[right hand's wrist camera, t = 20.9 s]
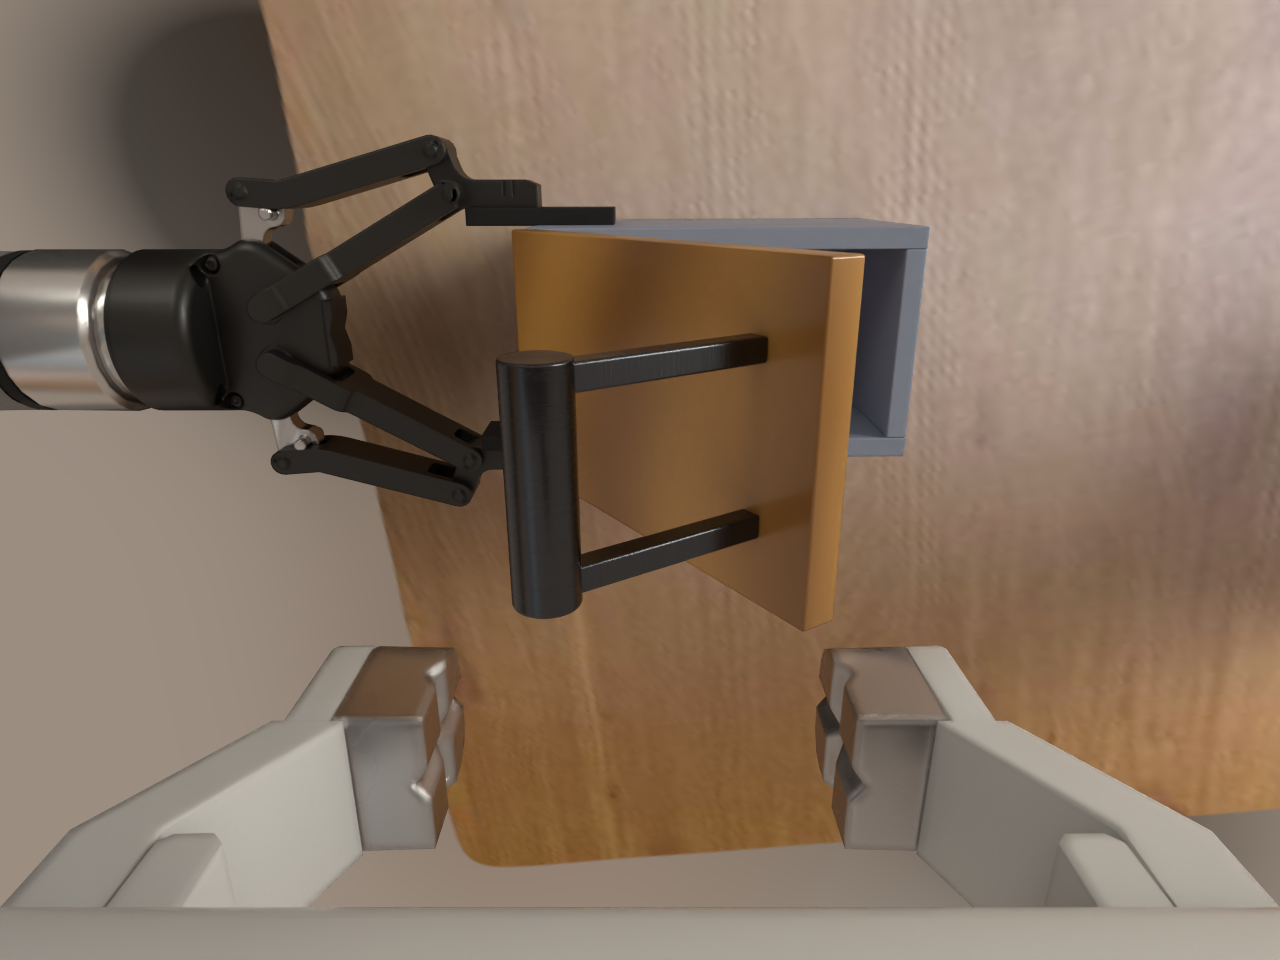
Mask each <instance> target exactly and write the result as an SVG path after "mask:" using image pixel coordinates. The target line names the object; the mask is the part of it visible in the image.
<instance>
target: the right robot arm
mask: <svg viewBox="0 0 1280 960" xmlns="http://www.w3.org/2000/svg"><path fill="white" fill-rule="evenodd" d="M460 678H461V676H460V667H459V659H458V654H457V652H456V650H455V648H441V647H391V646H390V647H389V646H379V647H376V646H341V647H337V648H334V649H333V650H332V651H331V653H330V654H329V656H328V657H327V659H326V660H325V662H324V663H323V665H322V666H321V668H320V669H319V670H318V672H317V673H316V675H315V676H314V678H313V679H312V681H311V682H310V684H309V685H308V687H307V688H306V690H305V691H304V692H303V694H302V695H301V697H300V698H299V700H298V701H297V703H296V704H295V706H294V707H293V709H292V710H291V712H290V713H289V715H288V716H287V718H286V719H285V720H284V721H271V722H269V723H267V724H266V725H264V726H262V727H260V728H258V729H256V730H254V731H252V732H251V733H249V734H247V735H245V736H243V737H241V738H239V739H238V740H236V741H234V742H232V743H230V744H228V745H227V746H225V747H223V748H221V749H219V750H217V751H215V752H214V753H212V754H210V755H208V756H206V757H204V758H202V759H201V760H199V761H197V762H195V763H193V764H191V765H189V766H188V767H186V768H184V769H182V770H180V771H178V772H176V773H175V774H173V775H171V776H169V777H167V778H165V779H163V780H162V781H160V782H158V783H156V784H154V785H152V786H151V787H149V788H147V789H145V790H143V791H141V792H139V793H138V794H136V795H134V796H132V797H130V798H128V799H126V800H125V801H123V802H121V803H119V804H117V805H115V806H113V807H112V808H110V809H108V810H106V811H104V812H102V813H100V814H99V815H97V816H95V817H93V818H91V819H89V820H87V821H86V822H84V823H82V824H80V825H78V826H76V827H75V828H73V829H71V830H69V832H68V833H67V834H66V835H65V836H64V837H63V838H62V839H61V840H60V842H59V843H58V844H57V845H56V846H55V847H54V848H53V849H52V851H51V852H50V853H49V854H48V855H47V856H46V857H45V858H44V859H43V860H42V862H41V863H40V864H39V865H38V866H37V867H36V868H35V869H34V871H33V872H32V873H31V874H30V875H29V876H28V877H27V878H26V879H25V881H24V882H23V883H22V884H21V885H20V886H19V887H18V888H17V889H16V891H15V892H14V893H13V894H12V895H11V896H10V897H9V898H8V899H7V901H6V902H5V903H4V904H3V905H2V906H1V907H0V960H1280V907H1279V906H1278V905H1277V904H1276V903H1275V902H1274V900H1273V899H1272V898H1271V897H1270V896H1269V895H1268V894H1267V893H1266V891H1265V890H1264V889H1263V888H1262V887H1261V886H1260V885H1259V884H1258V883H1257V881H1256V880H1255V879H1254V878H1253V877H1252V876H1251V875H1250V874H1249V872H1248V871H1247V870H1246V869H1245V868H1244V867H1243V866H1242V865H1241V864H1240V862H1239V861H1238V860H1237V859H1236V858H1235V857H1234V856H1233V855H1232V853H1231V852H1230V851H1229V850H1228V849H1227V848H1226V847H1225V846H1224V845H1223V843H1222V842H1221V841H1220V840H1219V839H1218V838H1217V837H1216V835H1215V834H1214V833H1213V832H1212V831H1210V830H1209V829H1207V828H1205V827H1203V826H1201V825H1199V824H1197V823H1196V822H1194V821H1192V820H1190V819H1188V818H1186V817H1185V816H1183V815H1181V814H1179V813H1177V812H1175V811H1173V810H1172V809H1170V808H1168V807H1166V806H1164V805H1162V804H1161V803H1159V802H1157V801H1155V800H1153V799H1151V798H1149V797H1148V796H1146V795H1144V794H1142V793H1140V792H1138V791H1136V790H1135V789H1133V788H1131V787H1129V786H1127V785H1125V784H1124V783H1122V782H1120V781H1118V780H1116V779H1114V778H1112V777H1111V776H1109V775H1107V774H1105V773H1103V772H1101V771H1100V770H1098V769H1096V768H1094V767H1092V766H1090V765H1088V764H1087V763H1085V762H1083V761H1081V760H1079V759H1077V758H1076V757H1074V756H1072V755H1070V754H1068V753H1066V752H1064V751H1063V750H1061V749H1059V748H1057V747H1055V746H1053V745H1052V744H1050V743H1048V742H1046V741H1044V740H1042V739H1040V738H1039V737H1037V736H1035V735H1033V734H1031V733H1029V732H1027V731H1026V730H1024V729H1022V728H1020V727H1018V726H1016V725H1015V724H1013V723H1011V722H1009V721H996V720H995V719H994V718H993V716H992V715H991V713H990V712H989V710H988V709H987V707H986V706H985V704H984V703H983V702H982V700H981V699H980V697H979V696H978V694H977V693H976V691H975V690H974V688H973V687H972V686H971V684H970V683H969V681H968V680H967V678H966V677H965V675H964V674H963V672H962V671H961V670H960V668H959V667H958V665H957V664H956V662H955V661H954V659H953V658H952V657H951V655H950V654H949V652H948V651H947V649H946V648H944V647H942V646H940V645H937V646H912V647H880V648H840V649H824V651H823V655H822V659H821V666H820V675H819V678H820V681H821V683H822V686H823V689H824V692H825V695H826V697H825V698H824V699H823V700H822V701H821V702H820V703H819V705H818V706H817V709H816V725H815V734H816V752H817V757H818V762H819V767H820V771H821V774H822V778H823V781H824V782H826V783H827V784H828V785H829V786H831V787H832V788H833V798H832V810H833V813H834V816H835V819H836V822H837V825H838V828H839V831H840V835H841V838H842V841H843V844H844V847H845V849H871V850H907V851H917V855H918V856H919V857H920V858H922V859H923V860H924V861H925V862H926V863H927V864H928V865H929V866H930V867H931V868H932V869H933V870H934V871H935V872H936V873H937V874H938V875H939V876H940V877H942V878H943V879H944V880H945V881H946V882H947V883H948V884H949V885H950V886H951V887H952V888H953V889H954V890H955V891H956V892H957V893H958V894H959V895H961V896H962V897H963V898H964V899H965V900H966V901H967V902H968V903H969V904H970V905H971V906H972V907H308V906H309V905H310V904H311V903H312V902H313V901H315V900H316V899H317V898H318V897H319V896H320V895H321V894H322V893H323V892H324V891H325V890H326V889H327V888H328V887H329V886H330V885H331V884H333V883H334V882H335V881H336V880H337V879H338V878H339V877H340V876H341V875H342V874H343V873H344V872H345V871H346V870H347V869H348V868H349V867H351V866H352V865H353V864H354V863H355V862H356V861H357V860H358V859H359V858H360V857H361V856H362V855H363V852H362V851H373V850H408V849H435V847H436V844H437V841H438V838H439V835H440V832H441V829H442V825H443V822H444V819H445V816H446V813H447V810H448V798H447V788H448V787H449V786H451V785H452V784H453V783H454V782H456V781H457V777H458V774H459V771H460V767H461V763H462V756H463V749H464V738H465V721H464V708H463V706H462V705H461V703H460V702H459V701H458V700H457V699H456V698H455V697H454V695H455V692H456V689H457V686H458V683H459V681H460Z"/></svg>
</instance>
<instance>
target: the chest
mask: <svg viewBox="0 0 1280 960" xmlns="http://www.w3.org/2000/svg"><path fill="white" fill-rule="evenodd" d="M528 229H541V230H554V231H567V232H580V233H594V234H607V235H620V236H633V237H647V238H660V239H673V240H686V241H700V242H713V243H726V244H739V245H753V246H766V247H779V248H792V249H806V250H819V251H832V252H845V253H859V254H863V255H865V263H864V274H863V285H862V296H861V307H860V319H859V330H858V341H857V352H856V363H855V374H854V386H853V397H852V408H851V419H850V430H849V441H848V453H847V456H903V454H904V445H905V438H904V437H905V436H906V427H907V418H908V410H909V401H910V392H911V384H912V375H913V366H914V358H915V349H916V340H917V331H918V323H919V314H920V305H921V297H922V288H923V279H924V271H925V262H926V253H927V250H926V249H927V247H928V238H929V229H930V227H927V226H919V225H911V224H903V223H895V222H886V221H878V220H870V219H861V218H819V219H625V220H615V224H614V225H537V226H534V227H531V228H528Z"/></svg>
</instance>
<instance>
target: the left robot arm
mask: <svg viewBox="0 0 1280 960" xmlns="http://www.w3.org/2000/svg"><path fill="white" fill-rule="evenodd" d="M424 173H429V176H430V178H431V180H432V183H433V185H434V187H432V188H430V189H429V190H427V191H426V192H424V193H422V194H421V195H419V196H418V197H416V198H414V199H413V200H411V201H410V202H408V203H406V204H405V205H403V206H402V207H400V208H398V209H397V210H395V211H394V212H392V213H390V214H389V215H387V216H385V217H384V218H382V219H381V220H379V221H377V222H376V223H374V224H373V225H371V226H369V227H368V228H366V229H365V230H363V231H361V232H360V233H358V234H357V235H355V236H353V237H352V238H350V239H349V240H347V241H345V242H344V243H342V244H341V245H339V246H337V247H336V248H334V249H333V250H331V251H329V252H328V253H326V254H324V255H321V256H319V257H317V258H316V259H314V260H312V261H311V262H309V263H307V264H306V263H305V262H303V261H302V260H300V259H299V258H297V257H296V256H294V255H293V254H291V253H290V252H288V251H287V250H285V249H284V248H282V247H281V246H279V245H278V244H277V243H275V242H273V241H272V234H273V232H274V230H275V229H277V228H278V227H282V226H286V225H288V224H289V223H290V222H291V221H292V219H293V209H295V208H308V207H314V206H318V205H322V204H325V203H328V202H332V201H335V200H338V199H341V198H345V197H348V196H351V195H355V194H358V193H361V192H365V191H368V190H371V189H375V188H378V187H381V186H385V185H388V184H391V183H394V182H398V181H401V180H404V179H408V178H411V177H414V176H418V175H421V174H424ZM226 194H227V197H228V199H229V200H230V202H232V203H233V204H234V205H237V206H239V218H240V229H241V240H240V241H238V242H236V243H235V244H233V245H232V246H230V247H228V248H226V249H142V250H138V251H135V252H133V253H131V252H129V251H126V250H122V249H118V250H117V249H116V250H114V249H110V250H107V249H104V250H103V249H102V250H101V249H99V250H98V249H97V250H96V249H95V250H94V249H92V250H91V249H88V250H87V249H85V250H82V249H81V250H80V249H78V250H77V249H75V250H74V249H73V250H72V249H70V250H68V249H62V250H61V249H60V250H59V249H58V250H57V249H54V250H53V249H48V250H47V249H46V250H43V249H41V250H40V249H39V250H26V251H15V252H10V251H0V410H123V411H141V410H145V409H149V408H154V409H157V410H247V411H251V412H254V413H256V414H259V415H261V416H263V417H265V418H267V419H270V420H271V423H272V427H273V431H274V435H275V439H276V443H277V447H278V452H276V453H275V454H274V455H273V456H272V458H271V465H272V467H273V469H274V470H275V471H276V472H278V473H280V474H285V475H288V474H300V473H313V472H321V473H325V474H330V475H334V476H338V477H342V478H346V479H350V480H354V481H358V482H362V483H366V484H370V485H374V486H378V487H382V488H386V489H390V490H394V491H398V492H402V493H406V494H410V495H414V496H418V497H422V498H426V499H430V500H434V501H438V502H442V503H446V504H450V505H454V506H465V505H467V504H468V503H469V502H470V500H471V498H472V497H473V495H474V493H475V491H476V489H477V487H478V485H479V483H480V479H481V475H482V473H483V472H485V471H487V470H491V469H503V460H502V445H501V430H500V421H491V422H490V424H489V425H488V427H487V428H486V430H485V431H484V433H483V435H480V434H478V433H476V432H474V431H472V430H471V429H469V428H467V427H465V426H463V425H461V424H459V423H457V422H455V421H453V420H451V419H449V418H447V417H445V416H443V415H441V414H439V413H437V412H435V411H433V410H431V409H430V408H428V407H426V406H424V405H422V404H420V403H418V402H416V401H414V400H412V399H410V398H408V397H406V396H404V395H402V394H400V393H398V392H396V391H394V390H392V389H390V388H389V387H387V386H385V385H383V384H381V383H379V382H377V381H375V380H374V379H372V377H371V375H369V374H368V373H366V372H365V371H363V370H361V369H359V368H357V367H355V366H353V365H351V364H349V361H351V360H353V354H352V346H351V342H350V339H349V337H348V334H347V332H346V329H345V323H346V316H347V306H346V298H345V296H341V294H340V292H339V290H338V288H337V287H339V286H341V285H342V284H344V283H346V282H347V281H349V280H350V279H352V278H354V277H355V276H357V275H358V274H359V273H360V272H362V271H363V270H365V269H367V268H368V267H370V266H371V265H373V264H375V263H376V262H378V261H380V260H381V259H383V258H384V257H386V256H388V255H389V254H391V253H393V252H394V251H396V250H397V249H399V248H401V247H402V246H404V245H406V244H407V243H409V242H410V241H412V240H414V239H415V238H417V237H419V236H420V235H422V234H423V233H425V232H427V231H428V230H430V229H432V228H433V227H435V226H437V225H438V224H440V223H441V222H443V221H445V220H446V219H448V218H450V217H451V216H453V215H454V214H456V213H458V212H459V211H461V210H463V209H465V214H466V226H537V225H614V224H615V207H542V198H541V185H540V184H538V183H535V182H533V181H530V180H474V179H472V178H470V177H468V176H467V175H466V174H465V173H464V171H463V169H462V168H461V165H460V163H459V160H458V158H457V153H456V148H455V146H454V144H453V143H452V142H450V141H449V140H447V139H444V138H441V137H437V136H434V135H425V136H422V137H418V138H415V139H412V140H409V141H405V142H402V143H399V144H396V145H392V146H389V147H386V148H383V149H379V150H376V151H373V152H370V153H366V154H363V155H360V156H356V157H353V158H350V159H347V160H343V161H340V162H337V163H334V164H330V165H327V166H324V167H321V168H317V169H314V170H311V171H308V172H304V173H301V174H298V175H294V176H291V177H288V178H285V179H281V180H274V179H263V178H232V179H231V180H229V181H228V183H227V185H226ZM312 400H315V401H317V402H319V403H321V404H323V405H325V406H327V407H329V408H331V409H333V410H336V411H339V412H347V413H350V414H352V415H354V416H356V417H358V418H360V419H362V420H364V421H366V422H368V423H370V424H372V425H374V426H376V427H378V428H380V429H382V430H384V431H386V432H388V433H390V434H392V435H394V436H396V437H398V438H400V439H402V440H404V441H406V442H408V443H410V444H412V445H414V446H416V447H418V448H420V449H422V450H424V451H426V452H428V453H430V454H432V455H434V456H436V457H438V458H440V459H442V460H444V461H446V462H443V461H439V460H435V459H432V458H428V457H424V456H420V455H416V454H412V453H408V452H404V451H400V450H396V449H392V448H388V447H384V446H380V445H376V444H372V443H368V442H364V441H360V440H356V439H352V438H348V437H343V436H335V435H324V432H323V429H321V428H320V427H317V426H315V425H310V424H307V423H305V422H303V421H302V420H301V419H300V417H299V415H298V411H300V410H301V409H302V408H304V407H305V406H306V405H307V404H309V403H310V402H311V401H312ZM447 462H448V463H447Z"/></svg>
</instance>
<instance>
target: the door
mask: <svg viewBox="0 0 1280 960" xmlns="http://www.w3.org/2000/svg"><path fill="white" fill-rule="evenodd" d="M512 245H513V263H514V280H515V297H516V314H517V332H518V349H519V351H518V352H512V353H507V354H504V355H501V356H499V357H498V358H497V359H496V372H497V386H498V401H499V416H500V430H501V445H502V460H503V474H504V489H505V504H506V518H507V533H508V548H509V562H510V577H511V592H512V604H513V607H514V608H515V610H516V611H517V612H518V613H520V614H522V615H524V616H527V617H531V618H537V619H550V618H557V617H561V616H564V615H567V614H569V613H572V612H573V611H575V610H576V609H577V608H578V607H579V606H580V604H581V602H582V593H583V592H586V591H589V590H592V589H596V588H599V587H602V586H605V585H609V584H612V583H615V582H618V581H621V580H625V579H628V578H631V577H634V576H638V575H641V574H644V573H647V572H650V571H654V570H657V569H660V568H663V567H666V566H670V565H673V564H676V563H679V562H683V561H686V562H688V563H690V564H691V565H693V566H695V567H696V568H698V569H700V570H701V571H703V572H705V573H706V574H708V575H710V576H711V577H713V578H715V579H716V580H718V581H720V582H721V583H723V584H725V585H726V586H728V587H730V588H731V589H733V590H735V591H736V592H738V593H740V594H741V595H743V596H745V597H746V598H748V599H750V600H751V601H753V602H755V603H756V604H758V605H760V606H761V607H763V608H765V609H766V610H768V611H770V612H771V613H773V614H774V615H776V616H778V617H779V618H781V619H783V620H784V621H786V622H788V623H789V624H791V625H793V626H794V627H796V628H798V629H799V630H801V631H807V630H809V629H812V628H814V627H817V626H819V625H822V624H824V623H826V622H829V621H831V620H832V619H833V609H834V598H835V587H836V575H837V564H838V553H839V542H840V531H841V520H842V508H843V497H844V486H845V475H846V464H847V453H848V441H849V430H850V419H851V408H852V397H853V386H854V374H855V363H856V352H857V341H858V330H859V319H860V307H861V296H862V285H863V274H864V263H865V255H863V254H859V253H845V252H832V251H819V250H806V249H792V248H779V247H766V246H753V245H739V244H726V243H713V242H700V241H686V240H673V239H660V238H647V237H633V236H620V235H607V234H594V233H580V232H567V231H554V230H541V229H527V230H512ZM579 497H580V498H581V499H583V500H585V501H586V502H588V503H590V504H591V505H593V506H595V507H596V508H598V509H600V510H601V511H603V512H605V513H606V514H608V515H610V516H611V517H613V518H615V519H616V520H618V521H620V522H621V523H623V524H625V525H626V526H628V527H630V528H631V529H633V530H635V531H636V532H638V533H640V534H641V535H643V536H644V537H641V538H637V539H634V540H630V541H626V542H623V543H619V544H616V545H612V546H609V547H605V548H602V549H598V550H595V551H591V552H587V553H584V554H581V543H580V513H579Z"/></svg>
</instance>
